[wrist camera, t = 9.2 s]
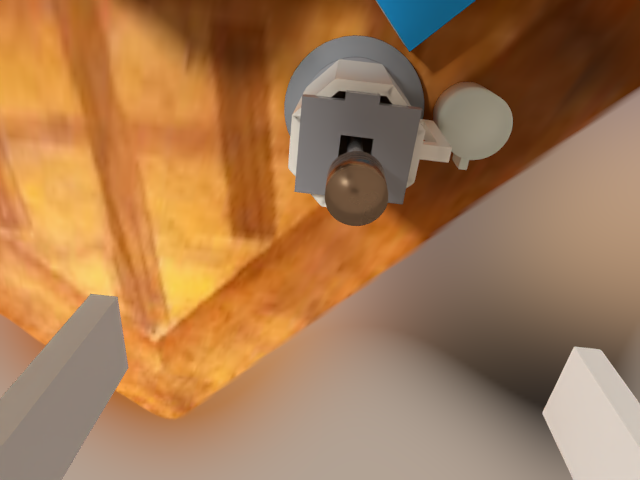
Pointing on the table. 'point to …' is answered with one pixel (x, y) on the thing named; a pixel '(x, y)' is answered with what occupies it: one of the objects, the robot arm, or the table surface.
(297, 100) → the disc
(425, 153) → the cafetiere
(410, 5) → the book
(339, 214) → the plunger
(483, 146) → the espresso cup
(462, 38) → the table surface
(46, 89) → the table surface
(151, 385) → the table surface
